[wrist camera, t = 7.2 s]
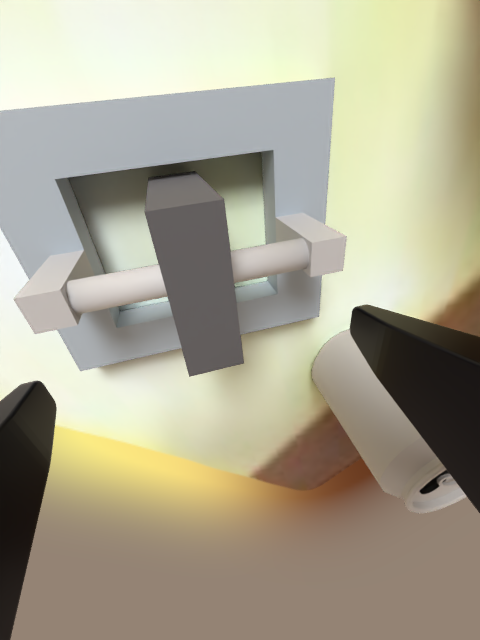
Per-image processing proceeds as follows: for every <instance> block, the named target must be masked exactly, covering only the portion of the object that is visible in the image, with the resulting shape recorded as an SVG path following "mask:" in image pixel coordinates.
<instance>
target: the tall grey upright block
mask: <svg viewBox="0 0 480 640" xmlns="http://www.w3.org/2000/svg"><path fill="white" fill-rule="evenodd" d="M145 215H146V219H147V222H148V226H149V230H150V233H151V237H152V241H153V244H154V248H155V252H156V255H157V259H158V263H159V266H160V270H161V274H162V277H163V281H164V285H165V288H166V292H167V296H168V300H169V303H170V307H171V311H172V314H173V318H174V322H175V325H176V329H177V333H178V336H179V340H180V344H181V347H182V351H183V355H184V358H185V362H186V366H187V369H188V373H189V377H190V376H194V375H198V374H202V373H206V372H210V371H214V370H218V369H223V368H227V367H231V366H235V365H239V364H243V363H244V360H243V352H242V344H241V335H240V327H239V319H238V311H237V302H236V294H235V286H234V278H233V269H232V261H231V253H230V244H229V236H228V228H227V220H226V211H225V203H224V199H223V198H222V197H221V196H220V195H219V194H218V193H217V192H216V191H215V190H214V189H213V188H212V187H211V186H210V185H209V184H208V183H207V182H206V181H205V180H204V179H202V178H201V177H200V176H199V175H198V174H197V173H196V172H195V171H193V172H186V173H179V174H172V175H164V176H157V177H150V178H149V179H148V187H147V196H146V204H145Z"/></svg>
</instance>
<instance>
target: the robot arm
mask: <svg viewBox="0 0 480 640" xmlns="http://www.w3.org/2000/svg"><path fill="white" fill-rule="evenodd" d="M350 334H351V336H352V338H353V340H354V342H355V343H356V345H357V347H358V348H359V350H360V352H361V353H362V355H363V357H364V358H365V360H366V361H367V363H368V365H369V366H370V368H371V370H372V371H373V373H374V374H375V376H376V377H377V379H378V380H379V381H380V383H381V384H382V385H383V387H384V388H385V389H386V391H387V392H388V393H389V395H390V396H391V397H392V399H393V400H394V401H395V402H396V404H397V405H398V406H399V408H400V409H401V410H402V412H403V413H404V414H405V416H406V417H407V418H408V420H409V421H410V422H411V424H412V425H413V426H414V428H415V429H416V430H417V431H418V433H419V434H420V435H421V437H422V438H423V439H424V441H425V442H426V443H427V445H428V446H429V447H430V449H431V450H432V451H433V453H434V454H435V455H436V456H437V458H438V459H439V460H440V462H441V463H442V464H443V466H444V467H445V468H446V470H447V471H448V472H449V474H450V475H451V476H452V478H453V479H454V480H455V482H456V483H457V484H458V485H459V487H460V488H461V489H462V491H463V492H464V493H465V495H466V496H467V497H468V499H469V500H470V501H471V503H472V504H473V505H474V507H475V508H476V509H477V510H478V512H479V513H480V337H478V336H475V335H471V334H468V333H464V332H461V331H457V330H454V329H451V328H447V327H444V326H440V325H437V324H433V323H430V322H426V321H423V320H419V319H416V318H412V317H409V316H405V315H402V314H399V313H395V312H392V311H388V310H385V309H381V308H378V307H374V306H371V305H362V306H357V307H355V308H354V309H353V311H352V317H351V324H350ZM55 419H56V403H55V401H54V399H53V398H52V396H51V395H50V393H49V392H48V390H47V389H46V387H45V386H44V384H43V383H42V382H40V381H33V382H28V383H24V384H21V385H20V386H18V387H17V388H16V389H15V390H13V391H12V392H11V393H10V394H9V395H7V396H6V397H5V398H4V399H2V400H1V401H0V640H10V638H11V634H12V630H13V625H14V621H15V616H16V612H17V608H18V603H19V599H20V595H21V590H22V585H23V582H24V577H25V573H26V569H27V564H28V560H29V556H30V551H31V547H32V543H33V538H34V533H35V529H36V525H37V521H38V516H39V512H40V508H41V503H42V499H43V494H44V490H45V486H46V481H47V477H48V473H49V468H50V462H51V455H52V446H53V437H54V428H55Z"/></svg>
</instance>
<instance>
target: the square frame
mask: <svg viewBox="0 0 480 640" xmlns="http://www.w3.org/2000/svg"><path fill="white" fill-rule="evenodd" d="M334 83H335V78H326V79H316V80H306V81H296V82H286V83H276V84H266V85H256V86H246V87H236V88H226V89H216V90H206V91H195V92H185V93H175V94H165V95H155V96H145V97H135V98H125V99H115V100H105V101H95V102H85V103H75V104H64V105H54V106H44V107H34V108H24V109H14V110H4V111H0V228H1V230H2V232H3V233H4V235H5V237H6V239H7V241H8V242H9V244H10V246H11V248H12V250H13V251H14V253H15V255H16V257H17V259H18V260H19V262H20V264H21V266H22V267H23V269H24V271H25V273H26V275H27V276H28V278H29V281H28V282H27V283H26V284H25V286H24V287H23V288H22V289H21V290H20V291H19V293H18V294H17V295H16V296H15V297H14V301H15V302H16V304H17V306H18V307H19V309H20V311H21V312H22V314H23V315H24V317H25V319H26V320H27V322H28V324H29V325H30V327H31V328H32V330H33V332H34V333H35V334H38V333H43V332H48V331H53V330H58V332H59V334H60V336H61V337H62V339H63V341H64V343H65V345H66V346H67V348H68V350H69V352H70V354H71V355H72V357H73V359H74V361H75V363H76V364H77V366H78V368H79V370H80V371H83V370H88V369H92V368H97V367H101V366H105V365H110V364H114V363H118V362H123V361H127V360H132V359H136V358H140V357H145V356H149V355H153V354H158V353H162V352H167V351H171V350H175V349H180V348H182V347H181V344H180V340H179V336H178V333H177V329H176V325H175V322H174V318H173V314H172V311H171V307H170V303H169V301H167V302H162V303H157V304H152V305H148V306H143V307H138V308H133V309H128V310H123V311H120V310H119V308H118V306H122V305H127V304H132V303H137V302H142V301H147V300H152V299H157V298H162V297H167V292H166V288H165V285H164V281H163V277H162V274H161V270H160V266H159V264H157V265H152V266H146V267H141V268H135V269H130V270H124V271H119V272H114V273H108V274H105V272H104V269H103V267H102V264H101V262H100V259H99V256H98V254H97V251H96V249H95V246H94V244H93V241H92V238H91V236H90V233H89V231H88V228H87V226H86V223H85V221H84V218H83V215H82V213H81V210H80V208H79V205H78V203H77V200H76V197H75V195H74V192H73V190H72V187H71V185H70V182H69V180H68V177H75V176H83V175H90V174H98V173H105V172H113V171H120V170H127V169H135V168H142V167H150V166H157V165H165V164H172V163H180V162H187V161H194V160H202V159H209V158H217V157H224V156H232V155H239V154H246V153H254V152H261V154H262V174H263V195H264V215H265V236H266V245H260V246H255V247H249V248H244V249H239V250H233V251H230V253H231V261H232V269H233V278H234V283H237V282H242V281H247V280H252V279H257V278H262V277H268V281H265V282H261V283H256V284H251V285H246V286H241V287H236V288H235V294H236V302H237V311H238V319H239V327H240V335H241V334H245V333H250V332H254V331H258V330H263V329H267V328H272V327H276V326H280V325H285V324H289V323H293V322H298V321H302V320H307V319H311V318H315V317H319V310H320V295H321V280H322V275H324V274H329V273H334V272H339V271H343V266H344V256H345V247H346V238H347V236H345V235H343V234H342V233H340V232H338V231H336V230H334V229H332V228H330V227H329V226H327V225H325V219H326V204H327V189H328V174H329V159H330V144H331V129H332V113H333V98H334Z"/></svg>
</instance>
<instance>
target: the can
mask: <svg viewBox="0 0 480 640" xmlns="http://www.w3.org/2000/svg"><path fill="white" fill-rule="evenodd" d="M312 380H313V381H314V383H315V385H316V386H317V388H318V389H319V391H320V393H321V394H322V396H323V397H324V399H325V400H326V402H327V403H328V405H329V407H330V408H331V410H332V411H333V413H334V414H335V416H336V418H337V419H338V421H339V422H340V424H341V425H342V427H343V429H344V430H345V432H346V433H347V435H348V436H349V438H350V440H351V441H352V443H353V444H354V446H355V447H356V449H357V450H358V452H359V454H360V455H361V457H362V458H363V460H364V461H365V463H366V464H367V466H368V468H369V469H370V471H371V472H372V474H373V476H374V477H375V479H376V480H377V482H378V483H379V485H380V486H381V488H382V490H383V491H384V492H386V493H389V494H391V495H394V496H396V497H399V498H402V499H404V500H405V503H404V504H405V506H406V508H407V509H408V510H409V511H412V512H415V513H428V512H432V511H435V510H439V509H441V508H444V507H447V506H449V505H452V504H454V503H456V502H457V501H460V500H462V499H463V498H465V497H467V496H466V495H465V493H464V492H463V491H462V489H461V488H460V487H459V485H458V484H457V483H456V482H455V480H454V479H453V478H452V476H451V475H450V474H449V472H448V471H447V470H446V468H445V467H444V466H443V464H442V463H441V462H440V460H439V459H438V458H437V456H436V455H435V454H434V453H433V451H432V450H431V449H430V447H429V446H428V445H427V443H426V442H425V441H424V439H423V438H422V437H421V435H420V434H419V433H418V431H417V430H416V429H415V428H414V426H413V425H412V424H411V422H410V421H409V420H408V418H407V417H406V416H405V414H404V413H403V412H402V410H401V409H400V408H399V406H398V405H397V404H396V402H395V401H394V400H393V399H392V397H391V396H390V395H389V393H388V392H387V391H386V389H385V388H384V387H383V385H382V384H381V383H380V381H379V380H378V379H377V377H376V376H375V374H374V373H373V371H372V370H371V368H370V366H369V365H368V363H367V361H366V360H365V358H364V357H363V355H362V353H361V352H360V350H359V348H358V347H357V345H356V343H355V342H354V340H353V338H352V336H351V334H350V329H349V330H346V331H343V332H340V333H339V334H337V335H335V336H334V337H332V338H331V339H330V340H329V341H328V342H327V343H325V344H324V345H323V347H322V348H321V350H320V351H319V353H318V355H317V357H316V359H315V361H314V364H313V367H312Z"/></svg>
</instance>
